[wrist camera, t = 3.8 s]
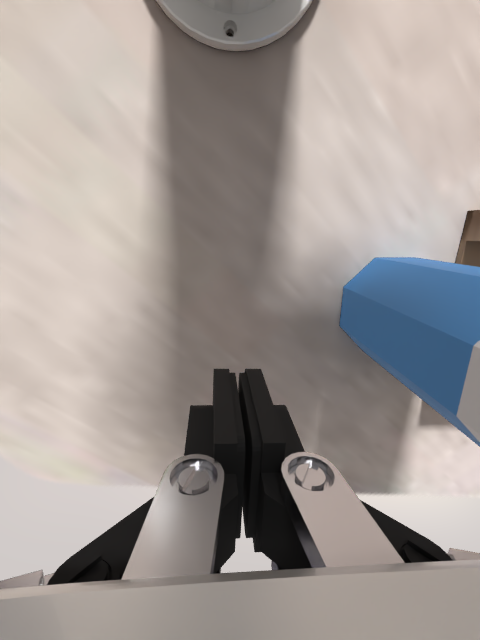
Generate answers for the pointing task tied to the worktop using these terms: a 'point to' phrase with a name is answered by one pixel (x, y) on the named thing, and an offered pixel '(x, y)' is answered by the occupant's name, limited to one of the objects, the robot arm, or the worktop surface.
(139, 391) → the worktop surface
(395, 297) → the water bottle
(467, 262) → the u rest
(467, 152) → the worktop surface
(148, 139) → the worktop surface
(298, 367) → the worktop surface
